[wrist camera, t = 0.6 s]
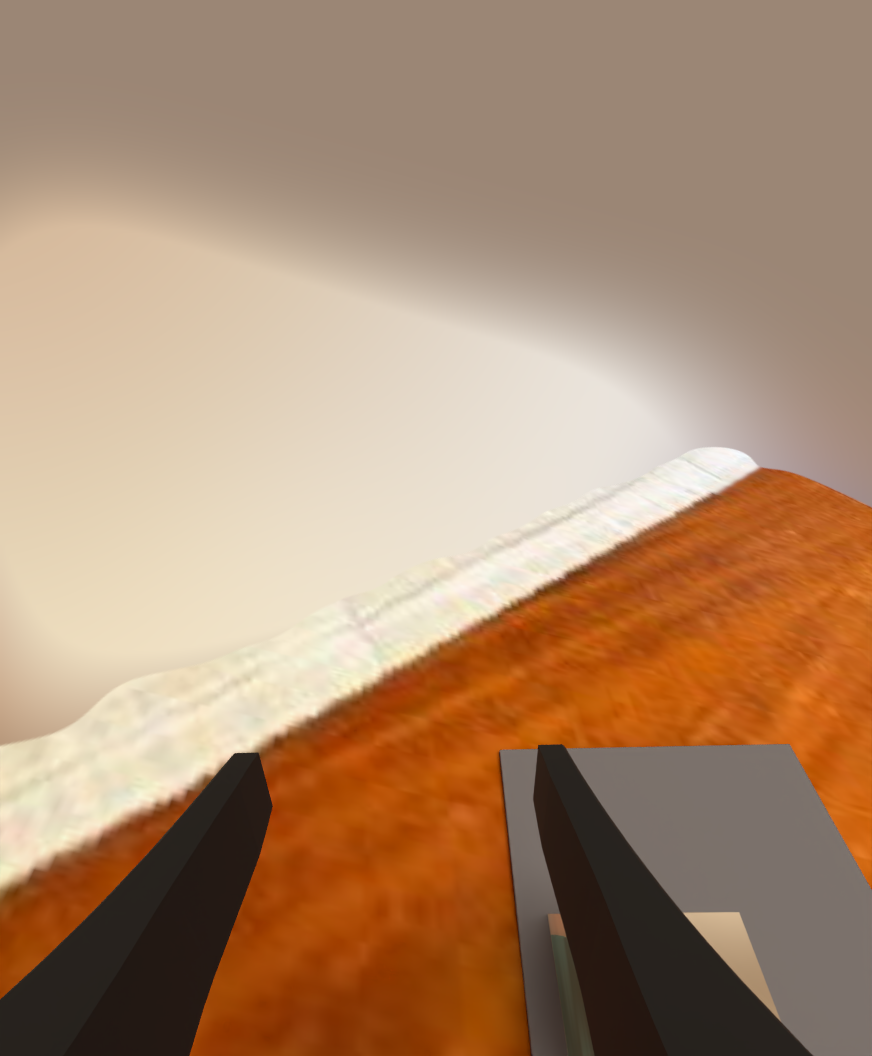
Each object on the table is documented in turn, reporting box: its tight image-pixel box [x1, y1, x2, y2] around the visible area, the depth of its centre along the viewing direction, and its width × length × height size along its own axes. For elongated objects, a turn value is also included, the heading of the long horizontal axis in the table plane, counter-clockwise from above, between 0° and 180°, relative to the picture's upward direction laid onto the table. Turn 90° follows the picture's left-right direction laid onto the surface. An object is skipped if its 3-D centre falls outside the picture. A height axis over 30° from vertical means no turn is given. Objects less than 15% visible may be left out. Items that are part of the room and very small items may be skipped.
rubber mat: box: [499, 744, 872, 1056], centre depth 19 cm, size 20×18×1 cm
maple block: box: [548, 912, 781, 1056], centre depth 15 cm, size 5×5×9 cm
